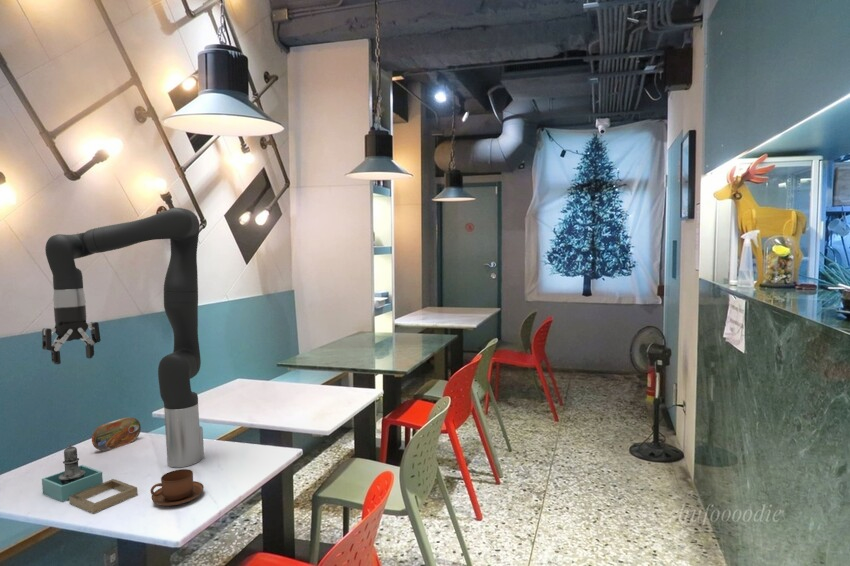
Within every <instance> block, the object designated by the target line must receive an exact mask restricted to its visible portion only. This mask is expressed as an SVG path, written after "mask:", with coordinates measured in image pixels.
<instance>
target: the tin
mask: <svg viewBox="0 0 850 566" xmlns="http://www.w3.org/2000/svg"><path fill="white" fill-rule="evenodd" d="M141 429H142V426H141V423H140V421H139V420H138V419H137V418H135V417H130V416H129V417H128V416H126V417H122V418H119V419H116V420H113V421H109V422H107V423H104V424H101V425H99V426H98V427H96V428H95V430H94V431H93V433H92V435H91V444H92V446H93V447H94V448H95V449H97V450H98V451H102V452H109V451H111V450H115V449H117V448H120V447H123V446H125V445H128V444H130V443H133V442H134V441H136V440H137V438H139V436H140V433H141V431H142V430H141Z"/></svg>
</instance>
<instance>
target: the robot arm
mask: <svg viewBox="0 0 850 566" xmlns="http://www.w3.org/2000/svg"><path fill="white" fill-rule="evenodd" d="M199 234H200V220H199V217H198V216H197V215H196V214H195V212H194V211H192V210H190V209H187V208H182V207H172V208H169V209H166V210H164V211H162V212H159V213H156V214H153V215H151V216H148V217H145V218H141V219H137V220H132V221H128V222H127V221H126V222H122V223H121V222H120V223H115V224H109V225H105V226H99V227H95V228H91V229H88V230H86V231H85V232H80V233H73V234H60V233H58V234H55V235H51V236H50V237H49V238H48V239H47V241H46V243H45V256H46V260H47V263H48V265H49V269H50V271H51V273H52V287H53V295H52V297H53V298H52V301H53V313H54V315H53V316H54V323H55V325H54V327H50V328H47V327H44V328H42V329H41V331H42V334H41V336H42V342H41V344H42V345H41V347H42V350H46V351H50V355H51V362H52V363H53V364H54V365H57V366H58V365H61V363H62V362H61V351H60V349H61V347H62V346H63V345H64V344H65V343H66V342H71V341H74V340H76V341H78V340H81V341H82V342H83V343H84V344H85V358H86V359H93V358H94V356H95V347H94V346H95V344H96V343H97V344H98V343H101V333H100V325H99V322H97V321H91V322H89V323H87V311H86V309H87V308H86V307H87V306H86V304H87V303H86V296H85V291H84V279H83V272H82V270H81V269H79V268H78V267H77V266H76V261H75V260H76V259H80V258H84V257H87V256H91V255H93V254H100V253H105V252H109V251H114V250H115V251H116V250H120V249H124V248H127V247H130V246H133V245H135V244H140V243H142V242H147V241H148V242H149V241H155V240H157V241H158V240H169V241H170V258H169V263H168V267H167V271H166V274H165V277H164V284H163V308H164V312H165V314H166V317H167V320H168V322H169V324H170V325H171V329H172V333H173V351H172V353H169V354H167V355H165V356H163V357H161V359H160V361H159V363H158V368H157V377H158V385H159V393H160V394H159V395H160V398H161V401H162V402H163V409H164V411H163V413H164V427H165V444H166V446H165V447H166V456H167V457H166V458H167V459H166V460H167V466H168V467H171V468H183V467H189V466H192V465H195V464H197V463H199V462H200V461H201V460H202V459H205V448H204V447H205V445H204V444H205V443H204V428H203V427H202V426H200V413H199V396H198V393H197V392H195V391H192V388H191V380H192V379H193V378H194V377H196V376H197V375H198V374H199V371H200V369H201V363H202V360H201V359H202V358H201V353H200V352H201V351H200V342H199V333H198V332H199V331H198V329H199V311H198V310H199V309H198V308H199V285H198V284H199V281H198V280H199V279H198V261H197V259H198V258H197V257H198V244H199V236H200V235H199ZM88 329H89V330H90V336H89V335H88V333H86V332H87V330H88ZM54 333H55V334H56V337H55V338H54V340H53V339H52V337H53V335H54ZM52 340H53V341H52ZM52 342H53V343H52Z"/></svg>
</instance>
